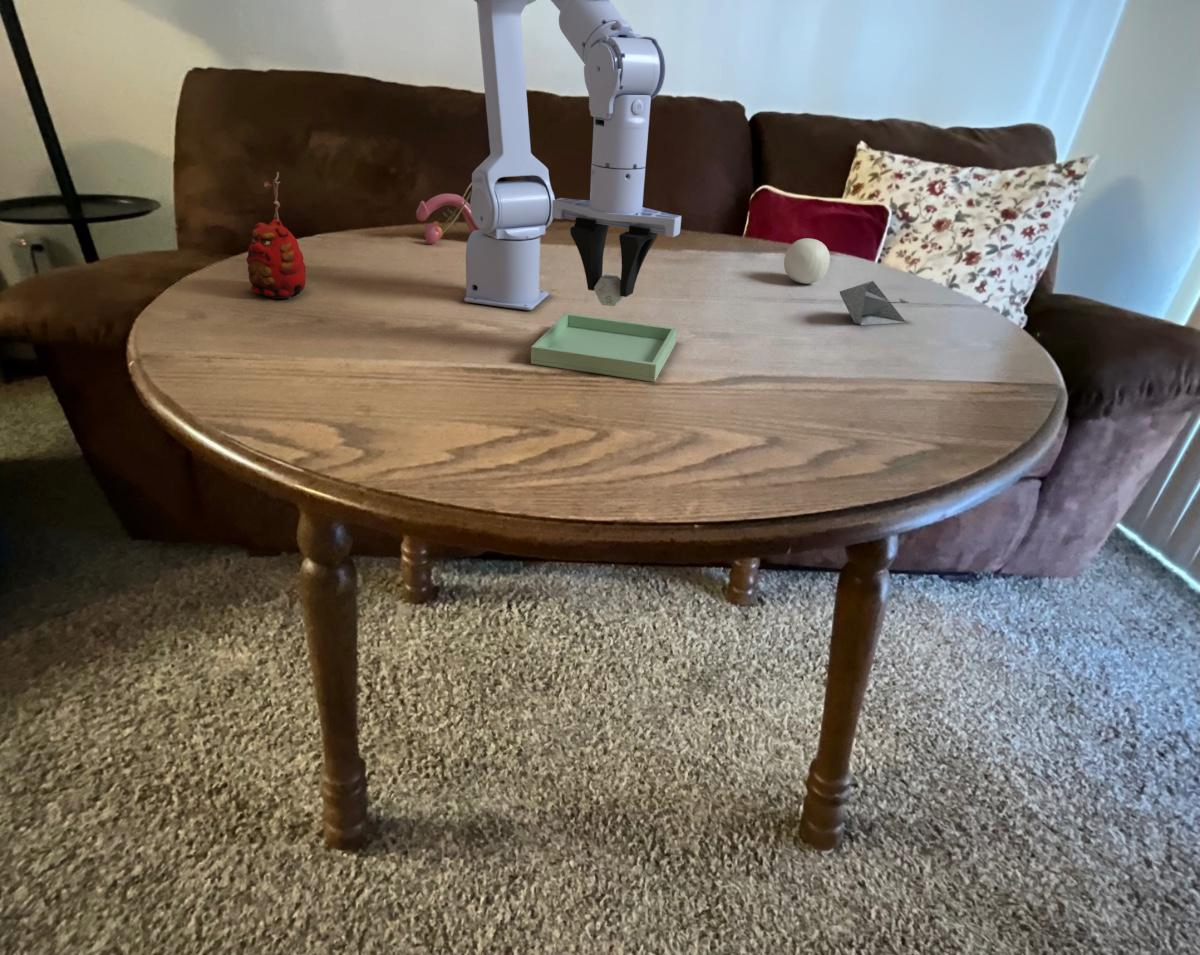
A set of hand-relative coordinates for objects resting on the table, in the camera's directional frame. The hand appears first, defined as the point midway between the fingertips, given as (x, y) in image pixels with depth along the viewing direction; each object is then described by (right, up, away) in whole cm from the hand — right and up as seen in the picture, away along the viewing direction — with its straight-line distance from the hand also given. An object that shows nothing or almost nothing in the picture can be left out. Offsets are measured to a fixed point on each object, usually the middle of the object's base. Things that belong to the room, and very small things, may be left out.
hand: (610, 291), depth 96 cm
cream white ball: (+31, +9, +36) cm, 48 cm away
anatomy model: (-24, +19, +47) cm, 56 cm away
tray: (-1, -6, +3) cm, 7 cm away
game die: (0, -1, +1) cm, 2 cm away
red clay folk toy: (-44, +3, +17) cm, 47 cm away
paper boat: (+35, 0, +19) cm, 40 cm away
